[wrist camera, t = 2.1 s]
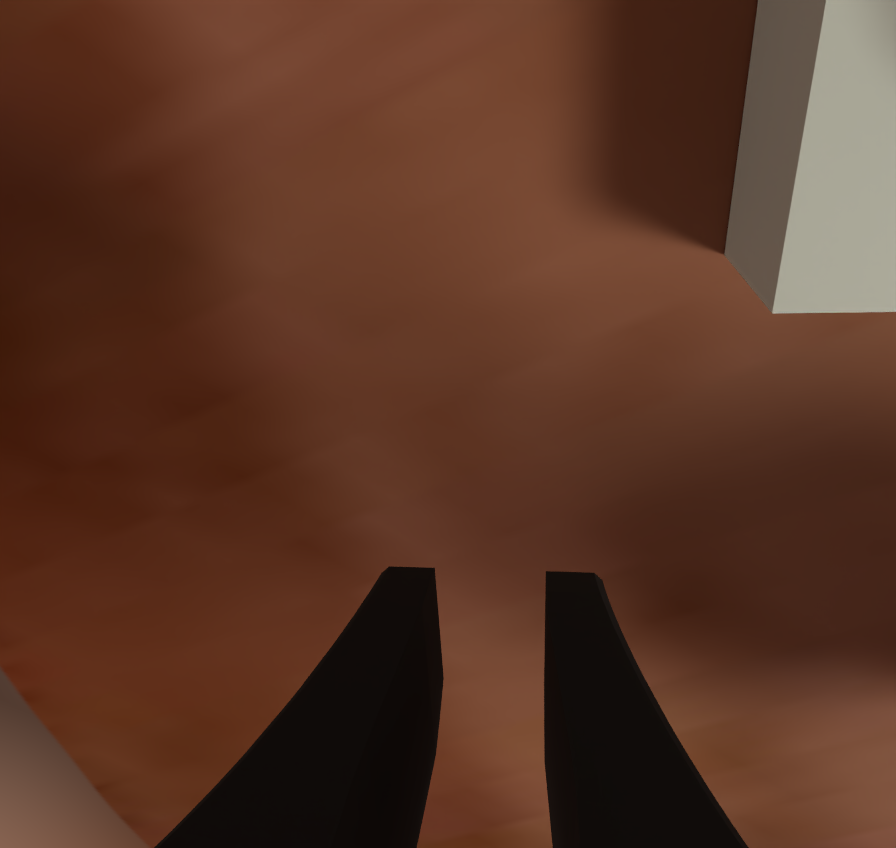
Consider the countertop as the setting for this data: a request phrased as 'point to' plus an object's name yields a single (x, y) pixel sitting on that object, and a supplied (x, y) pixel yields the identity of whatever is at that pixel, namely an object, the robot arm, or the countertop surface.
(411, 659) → the robot arm
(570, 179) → the countertop surface
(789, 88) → the socket block
